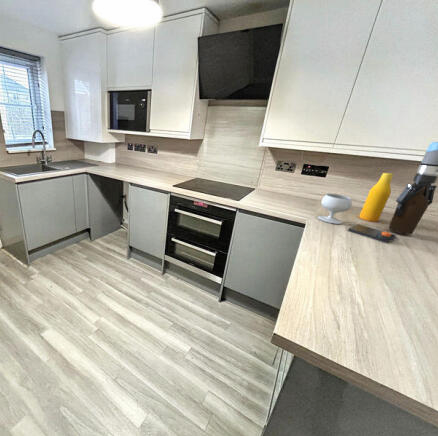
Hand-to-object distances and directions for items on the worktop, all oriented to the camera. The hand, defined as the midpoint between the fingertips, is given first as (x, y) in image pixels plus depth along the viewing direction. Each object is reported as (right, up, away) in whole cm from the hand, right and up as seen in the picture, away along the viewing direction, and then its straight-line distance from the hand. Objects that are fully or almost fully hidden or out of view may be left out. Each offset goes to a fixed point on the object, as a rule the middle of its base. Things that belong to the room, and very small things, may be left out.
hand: (407, 215), depth 125 cm
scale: (-20, -10, 0) cm, 22 cm away
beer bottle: (0, -2, +23) cm, 23 cm away
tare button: (-20, -10, -8) cm, 24 cm away
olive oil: (0, -8, +3) cm, 9 cm away
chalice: (-29, -3, +16) cm, 33 cm away
